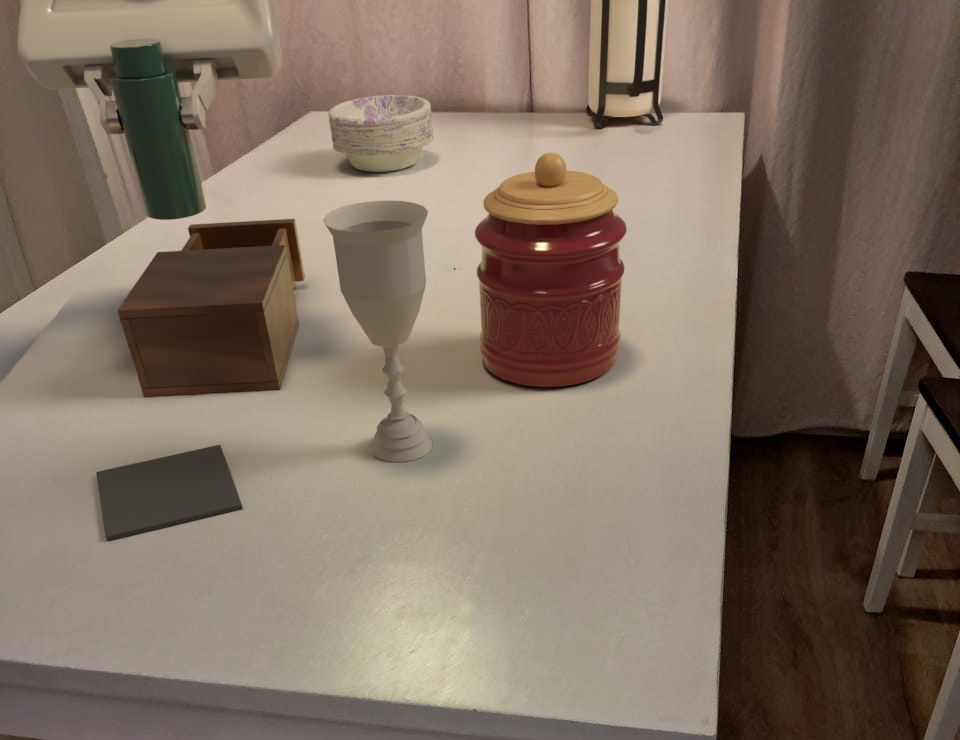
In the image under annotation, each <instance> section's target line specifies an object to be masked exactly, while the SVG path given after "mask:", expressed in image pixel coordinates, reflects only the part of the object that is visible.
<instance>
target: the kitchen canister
mask: <svg viewBox="0 0 960 740" xmlns="http://www.w3.org/2000/svg"><path fill="white" fill-rule="evenodd" d="M618 203H619V197H618V193H617V192H616V191H615V190H614V189H612V188H611V187H609V186H607V185H605V184H604V183H603V182H602V180H601V179H599V178H598V177H597V176H595V175H593V174H590V173H587V172H583V171H575V170H567V165H566V161H565V159H564V158H563V157H562V155H560V154H559V153H556V152H547V153H544V154H542V155H541V156H539V157H538V159H537V161H536V162H535V165H534V171H529V172H524V173H520V174H516V175H512V176H510V177H508V178H506V179H504V180H503V181H502V182H501V183H500V184H499V186H498V187H497V188H495V189H493V190H492V191H491V192H489V193H488V194H487V195H486V196H485V197H484V199H483V203H482V204H483V208H484V210H485V211H486V212H487V213H488V214H487V216H485V218H483V219H482V220H480V222H479V223H478V224H477V226H476V227H475V229H474V237H475V239H476V241H477V242H478V244H479V245H480V246H481V261H480V262H479V264H478V265H477V268H476V277H477V279H478V285H479V306H480V326H481V327H480V334H479V342H480V343H479V345H480V347H479V348H480V353H481V355H482V358H483V364H484V366H485V368H486V369H487V370H488V371H489V372H490V373H491V374H493V375H494V376H496V377H497V378H499V379H501V380H504V381H506V382H509V383H513V384H516V385H521V386H526V387H536V388H557V387H558V388H560V387H568V386H574V385H579V384H583V383H585V382H590V381H592V380H595V379H597V378H599V377H601V376H603V375H604V374H606V373H607V372H609V371H610V370H611V369H612V368H613V367H614V365H615V364H616V362H617V358H618V357H617V356H618V352H619V350H620V346H621V335H622V334H621V329H620V319H621V318H620V317H621V316H620V315H621V301H622V300H621V299H622V298H621V297H622V279H623V276H624V274H625V263H624V261H623V259H622V258H621V257H620V242H621V241H622V240H623V239H624V238H625V236H626V234H627V230H628V229H627V223H626V222H625V221H624V219H623V218H622V217H621V216H620V215H619V214H617V213H615V212H614V209H615V208H616V206H617V205H618Z"/></svg>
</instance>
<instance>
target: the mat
mask: <svg viewBox="0 0 960 740" xmlns="http://www.w3.org/2000/svg"><path fill="white" fill-rule="evenodd" d="M95 472H96V480H97V481H96V482H97V487H98V494H99V500H100V508H101V514H102V521H103V528H104V535H105V539H106V541H108V542H109V541H113V540H117V539H122V538H127V537H130V536H133V535H139V534H142V533H146V532H151V531H155V530H159V529H163V528H168V527H171V526H175V525H180V524H185V523H189V522H192V521H196V520H200V519H204V518H209V517H214V516H217V515H222V514H226V513H230V512H234V511H239V510H242V509H243V504H242V500H241V499H240V495H239V493H238V489H237V487H236V485H235V481H234V479H233V476H232V474H231V471H230V468H229V465H228V462H227V459H226V456H225V454H224V450H223V448H222V445H221V444H217V445H212V446H207V447H203V448H202V447H201V448H198V449H193V450H190V451H185V452H180V453H175V454H171V455H167V456H162V457H157V458H153V459H147V460H144V461H139V462H135V463H129V464H125V465H120V466H115V467H112V468H107V469H103V470H99V471H98V470H97V471H95Z"/></svg>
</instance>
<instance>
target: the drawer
mask: <svg viewBox="0 0 960 740" xmlns="http://www.w3.org/2000/svg"><path fill="white" fill-rule="evenodd" d="M187 231H188V235H189V238H188V239H187V241H186V243H185V244H184V246H183V247H182V249H181V250H180V251H186V250H204V249H222V248H240V247H258V246H276V245H285V248H286V254H287V259H288V265H289V270H290V276H291V281H292V287H293V290H294V289H295V286H296V282H304V281H305V278H306V275H305V269H304V263H303V257H302V252H301V245H300V240H299V233H298V227H297V223H296V219H295V218H281V219H265V220H248V221H247V220H246V221H230V222H229V221H228V222H212V223H196V224H195V223H194V224H189V226H188V227H187Z"/></svg>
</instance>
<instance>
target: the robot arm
mask: <svg viewBox="0 0 960 740" xmlns="http://www.w3.org/2000/svg"><path fill="white" fill-rule="evenodd" d="M19 4H20V11H19V12H20V13H19V20H18V27H17V41H16V42H17V44H16V45H17V47H16V49H17V54H18V57H19V59H20V61H21V64H23V66H24V67H25V69H26V71H27V72H28V73H29V75H30V76H31V77H32V78H33V79H34V80H35V81H36V82H37V83H38V84H39V85H40V86H41V87H42V88H43V89H45V90H49V91H50V90H69V89H70V90H71V89H86V88H88V89H89V90H90V92H91V93H92V95H93V96H94V98H95V100H96V101H97V103H98V104H99V122H100V125H101V127H102V128H103V130H104V132H105V133H106V134H107V135H122V134H124V131H123V127H122V123H121V120H120V116H119V112H118V108H117V105H116V101H115V100H108V98H106V97H112V96H113V90H112V86H111V82H110V79H109V78H110V76H111V75H112V74H115V73H116V70H115V66H114V62H113V58H112V55H111V51H110V45H111V44H113V43H116V42H120V41H125V40H133V39H158V40H160V41H161V44H162V49H163V53H164V57H165V62H166V66H167V68H172V69H174V70H175V71H176V74H177V79H178V83H179V84H180V83H181V84H182V83H195V84H194V87H193V89H192V92H191V93H190V95H189V96H181V103H180V106H181V108H182V109H181V111H180V114H181V119H182V122H183V124H184V125H185V128H186V129H187V130H189V131H201V130H206V128H207V127H206V126H207V125H206V111H207V110H208V109H209V107H210V105H211V104H212V103H213V101H214V99H215V98H216V96H217V95H218V93H219V91H220V89H219V88H220V87H219V81H234V80H235V81H236V80H252V79H255V80H256V79H271V78H273V77H275V75H276V74H277V73H278V71H279V70H280V68H281V67H282V65H283V57H282V56H283V55H282V46H281V39H280V33H279V28H278V23H277V20H276V15H275V12H274V9H273V6H272V2H271V0H19Z"/></svg>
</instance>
